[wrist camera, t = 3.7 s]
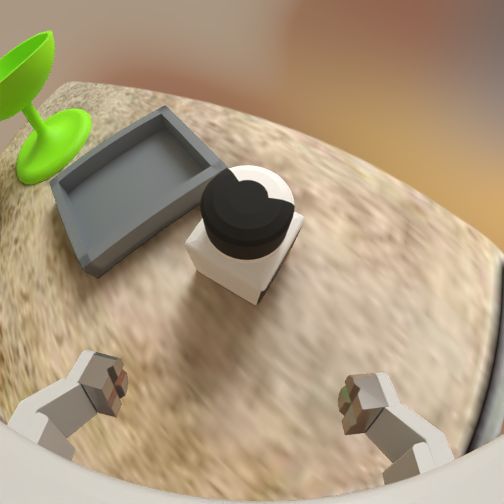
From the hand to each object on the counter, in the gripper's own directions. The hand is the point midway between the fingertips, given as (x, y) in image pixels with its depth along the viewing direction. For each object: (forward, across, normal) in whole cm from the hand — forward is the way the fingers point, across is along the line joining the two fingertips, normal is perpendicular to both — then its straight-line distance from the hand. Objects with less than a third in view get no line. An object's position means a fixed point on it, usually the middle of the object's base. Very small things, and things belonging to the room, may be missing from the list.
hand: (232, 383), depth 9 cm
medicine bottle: (+19, 0, +5) cm, 20 cm away
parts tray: (+24, +14, -1) cm, 28 cm away
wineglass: (+31, +33, -7) cm, 46 cm away
